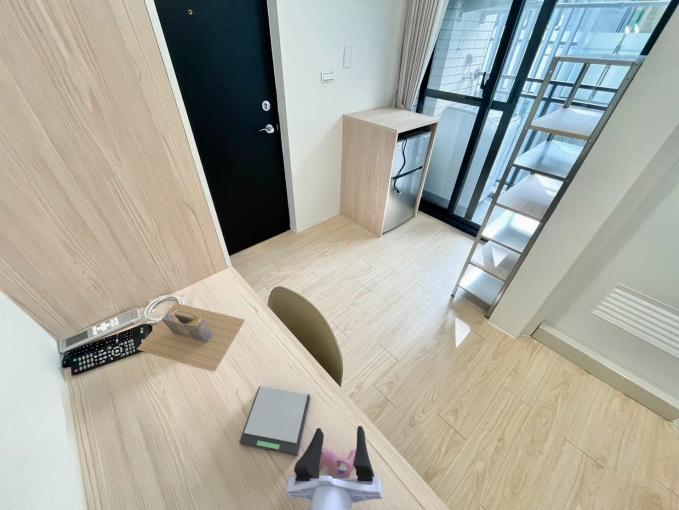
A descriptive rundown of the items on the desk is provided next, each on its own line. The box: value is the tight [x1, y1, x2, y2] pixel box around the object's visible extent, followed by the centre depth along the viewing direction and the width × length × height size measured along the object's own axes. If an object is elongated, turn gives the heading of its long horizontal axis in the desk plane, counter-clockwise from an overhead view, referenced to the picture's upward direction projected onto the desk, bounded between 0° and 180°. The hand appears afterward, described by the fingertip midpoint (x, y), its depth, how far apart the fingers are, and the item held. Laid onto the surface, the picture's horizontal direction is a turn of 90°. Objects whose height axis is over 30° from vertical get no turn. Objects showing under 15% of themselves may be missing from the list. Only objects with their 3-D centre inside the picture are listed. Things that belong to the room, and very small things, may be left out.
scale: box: [238, 385, 311, 457], centre depth 63 cm, size 12×13×3 cm
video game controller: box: [320, 447, 356, 479], centre depth 56 cm, size 10×5×7 cm
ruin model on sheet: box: [136, 302, 246, 372], centre depth 76 cm, size 25×16×10 cm, turn 76°
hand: (340, 430), depth 48 cm, fingers open, 7 cm apart
